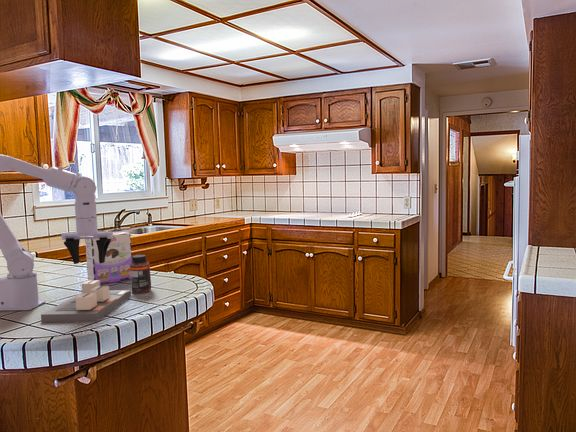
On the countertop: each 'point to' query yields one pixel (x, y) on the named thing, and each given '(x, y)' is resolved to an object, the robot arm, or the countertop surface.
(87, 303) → the slotted white cube
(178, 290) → the countertop surface
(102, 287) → the knob
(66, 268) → the countertop surface
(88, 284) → the knob
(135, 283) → the supplement bottle
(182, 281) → the countertop surface
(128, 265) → the candy box
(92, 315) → the panel
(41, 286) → the countertop surface
